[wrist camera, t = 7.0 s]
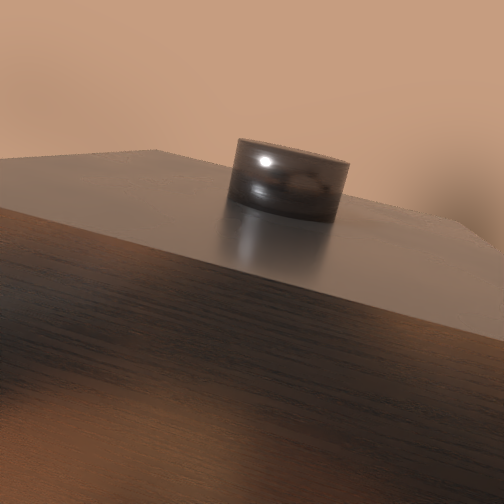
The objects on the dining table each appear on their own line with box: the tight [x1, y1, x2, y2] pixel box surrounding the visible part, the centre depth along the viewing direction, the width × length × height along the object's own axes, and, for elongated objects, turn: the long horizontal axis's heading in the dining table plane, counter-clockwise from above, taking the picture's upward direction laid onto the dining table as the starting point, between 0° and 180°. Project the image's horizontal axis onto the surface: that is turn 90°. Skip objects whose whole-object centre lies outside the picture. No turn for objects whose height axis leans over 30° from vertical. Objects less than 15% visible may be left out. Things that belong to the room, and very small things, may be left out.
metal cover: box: [0, 138, 504, 504], centre depth 11 cm, size 10×10×11 cm
